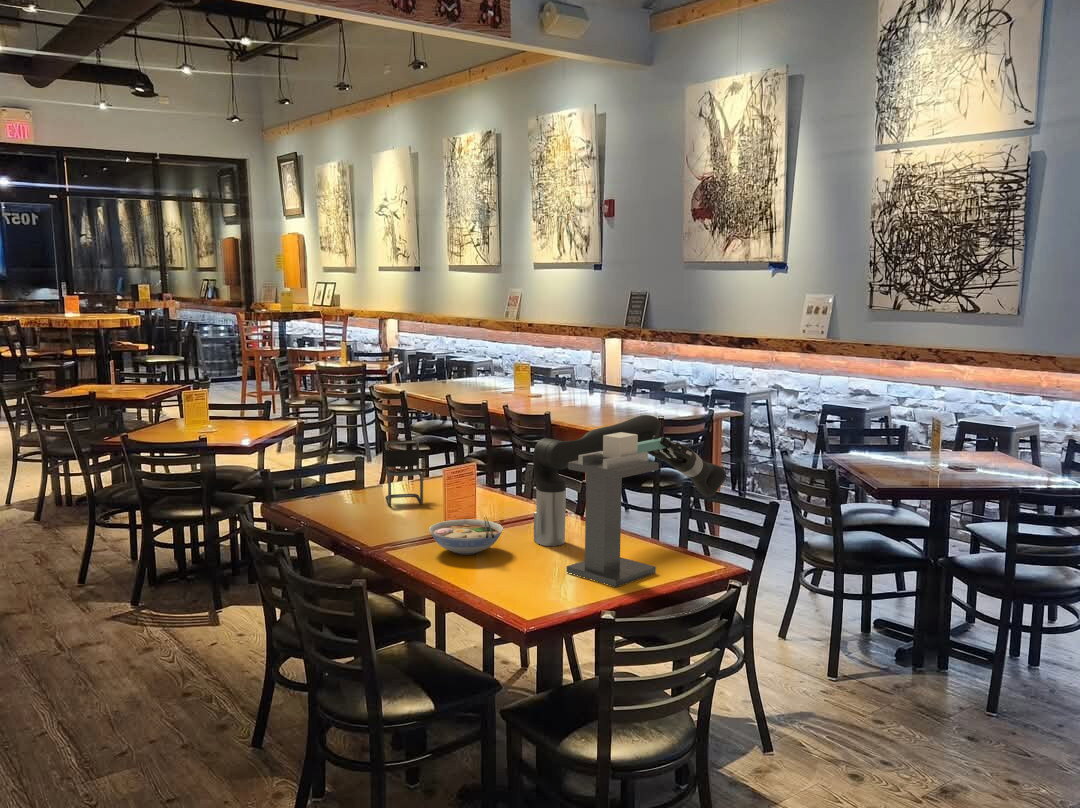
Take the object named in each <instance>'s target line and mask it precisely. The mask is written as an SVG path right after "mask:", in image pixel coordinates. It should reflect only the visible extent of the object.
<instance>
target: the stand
mask: <svg viewBox="0 0 1080 808" xmlns="http://www.w3.org/2000/svg"><path fill="white" fill-rule="evenodd" d="M659 466H660V464H659V462H656V461H650V460H649V454H648V452H639V453H634V454H628V455H623V456H618V457H613V458H609V457H603V451H599V452H593V453H588V454H582V455H578V460H577V461H572V462H568V467H567V469H568V470H570V471H575V472H581V473H585V474H586V477H585V478H586V479H585V531H584V533H585V534H584V536H585V538H584V560H583V561H579V562H575V563H573V564H569V565H566V572H568V573H572V574H575V575H578V576H581V577H580V578H582V577H585V578H588V579H592V580H595V581H598V582H597V583H599V582H601V583H600V584H602V583H605V584H608V585H607V586H609V585H611V586H610V587H612V586H614V587H613V588H619V587H621V586H620V585H622V586H624V585H627V584H630V583H633V582H635V580H636V581H639V580H641V579H644V578H647V577H650V576H652V575H651V574H653V575H655V573H656V574H657V566H655V565H650V564H647V563H644V562H639V561H635V560H632V559H627V558H624V557H622V556H621V538H622V537H621V535H622V534H621V533H622V532H621V531H622V530H621V529H622V528H621V526H622V524H621V523H622V488H623V487H622V485H623V484H622V482H623V481H622V480H623V478H624V479H625V478H627V477H632V476H637V475H641V474H645V473H651V472H656V471H659V470H660V469H659V468H660V467H659ZM568 573H567V574H568ZM575 575H574V576H575ZM649 575H650V576H649ZM578 576H577V577H578ZM646 576H647V577H646ZM643 577H644V578H643ZM585 578H584V579H585ZM640 578H641V579H640ZM588 579H587V580H588ZM638 579H639V580H638ZM592 580H591V581H592ZM595 581H594V582H595ZM632 581H633V582H632ZM626 583H627V584H626ZM605 584H604V585H605ZM623 584H624V585H623ZM618 586H619V587H618Z"/></svg>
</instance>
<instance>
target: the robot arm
mask: <svg viewBox="0 0 1080 808" xmlns="http://www.w3.org/2000/svg"><path fill="white" fill-rule="evenodd" d="M661 426H662V425H661V421H660V420H659V418H657V417H656V416H654V415H651V414H643V415H639V416H635V417H632V418H630V419H627V420H625V421H621V422H619V423H616V424H612V425H609V426H602V427H598V428H595V429H591V430H589V431H587V432H586V433H585V434H584V435H583V436H582V437H581V438H578V439H574V440H558V439H554V438H546V437H545V438H542V439H539V440H538V441H537V442H536V444H535V446H534V450H533V457H532V458H533V479H534V482H535V485H536V511H534V512H533V542H535V544H537V545H539V544H540V546H544V547H545V546H546V547H555V546H556V547H557V545H558V546H561V545H564V544H565V543H566V541H565V540H566V504H567V503H566V501H567V500H566V497H567V496H566V487H567V486H566V481H565V479H564V478H562V476H560V473H559V472H558V471H559V470H560V471H561V470H564V469H568V462H572V461H577V460H578V455H582V454H588V453H593V452H599V451H603V435H608V434H614V433H620V432H623V433H630V434H637V435H638V442H642V441H647V440H652V439H658V438H659V435H660V431H661ZM660 438H661V441H660V444H662V445H663V446H664V447H666V448H663V449H658V450H653V451H648V455H650V456H651V457H654V458H656V459H658V460H660V461H663V462H664V463H666V464H668V465H670V466H671V467H673V468H674V469H675V470H676V471H678V472H680V473H681V474H682V475H684V476H685V477H687V478H688V479H690V480H691V481H692V483H693V485H694V487H695V488H696V490H697V491H698V492H699V494H701V496H704V497H708V498H709V497H713V496H714V495H715V494H716V493H717V492H718V490H719V489H720V488H721V486H722V485H723V484H724V482H725V481H726V479H727V471H726V470H725V469H724V468H723V467H722V466H720V465H717V464H714V463H710V462H707V461H705V460H704V459H702V458H701V457H700V456H699V455H698V454H697V453H696V452H695V451H693V449H691V448H690V447H688V446H687V445H686V444H682V443H681V444H680V443H679V442H674V441H671V440H670V441H669V440H668V439H666V438H667V437H665V436H661V437H660Z"/></svg>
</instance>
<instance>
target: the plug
mask: <svg viewBox="0 0 1080 808" xmlns="http://www.w3.org/2000/svg"><path fill="white" fill-rule="evenodd" d="M661 438H662V437H658V439H652V440H647V441H642V442H638V435H637V434H630V433H623V432H620V433H614V434H608V435H603V457H609V458H613V457H618V456H623V455H628V454H634V453H639V452H648V451H653V450H658V449H663V448H666V447H664V446H663V445H662V444H660V441H661ZM665 438H666V439H668V440H669V441H671V438H670V437H665Z"/></svg>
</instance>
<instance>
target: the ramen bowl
mask: <svg viewBox="0 0 1080 808" xmlns="http://www.w3.org/2000/svg"><path fill="white" fill-rule="evenodd" d="M483 519H484V520H483ZM483 519H467V518H465V519H450V520H445V521H440V522H436V523H434V524H432V525H431V526H430V527H428V531H429V533H430V534H431V536H432V537H433V539H434V540H435V543H437V544H438V546H439V547H441V548H443V549H444V550H447V551H450V552H453V553H454V554H457V555H461V556H462V555H463V556H464V555H465V556H468V555H476V554H478V553H479V552H482V551H484V550H487V549H489V548H491V547H492V546H493V545H494V544H495V543H496V542H497V541H498V539H499V537H500V536H501V534H502V532H503V530H504V527H503V526H502V525H501V524H500V523H497V522H495V521H490V520H488V517H486V516H485V517H484V518H483Z"/></svg>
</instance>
